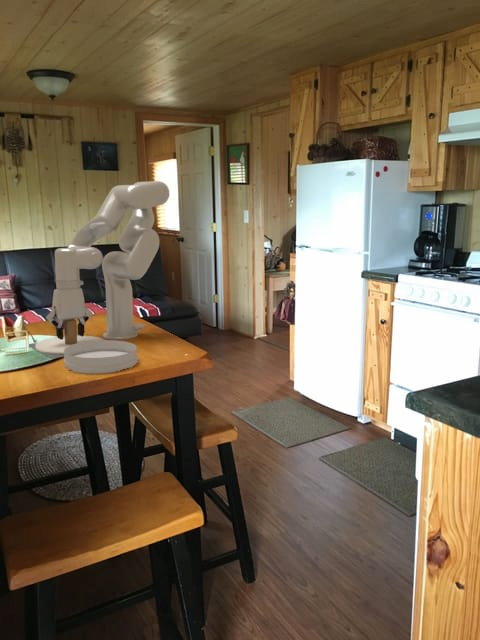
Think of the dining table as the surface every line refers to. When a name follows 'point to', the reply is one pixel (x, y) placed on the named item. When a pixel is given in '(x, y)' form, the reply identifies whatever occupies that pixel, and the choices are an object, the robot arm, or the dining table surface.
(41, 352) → the mat
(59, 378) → the dining table surface
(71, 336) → the lid
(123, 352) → the dish
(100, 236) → the robot arm
